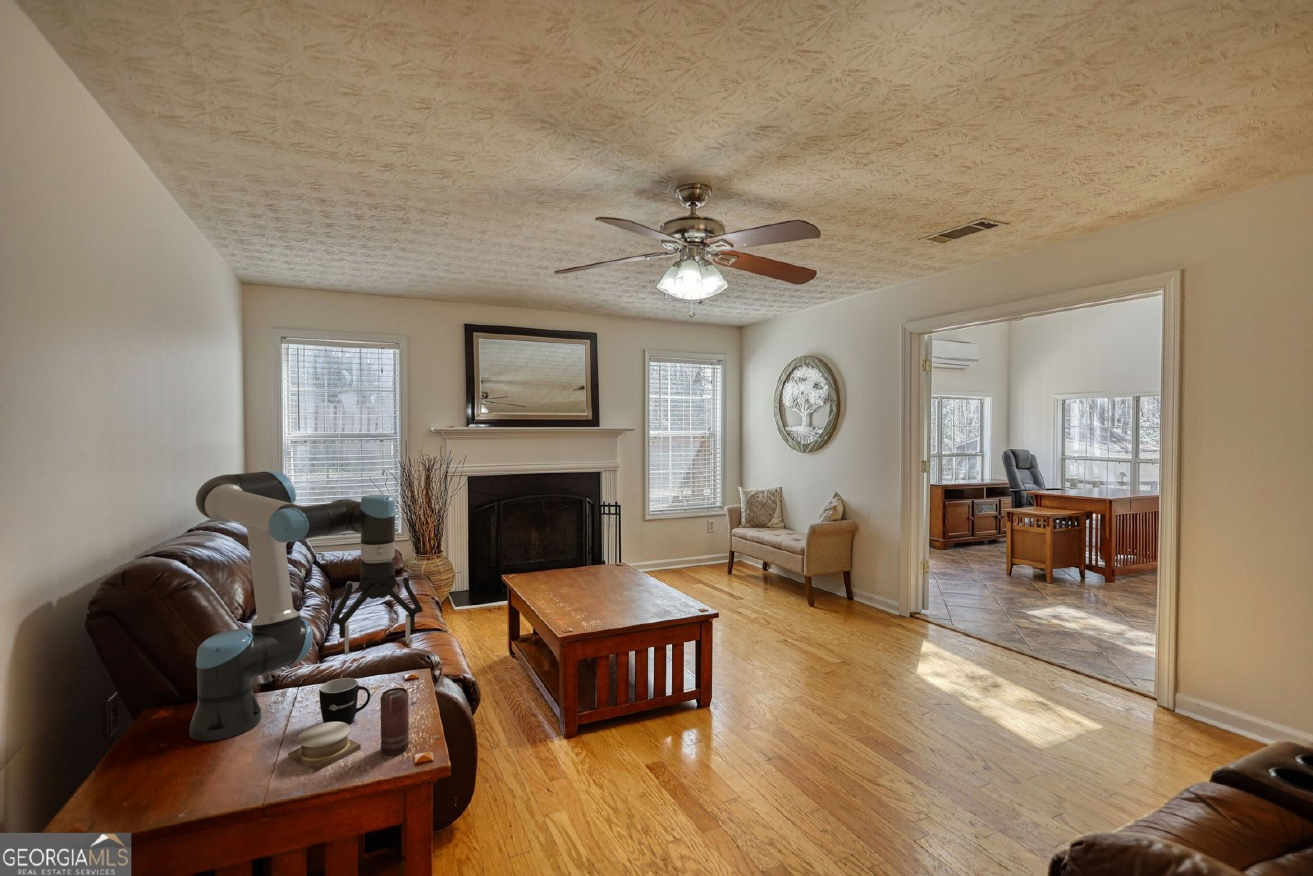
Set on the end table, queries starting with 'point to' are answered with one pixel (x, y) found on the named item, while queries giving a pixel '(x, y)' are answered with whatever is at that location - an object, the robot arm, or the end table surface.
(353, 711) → the mug
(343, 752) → the stand
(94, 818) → the end table surface
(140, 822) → the end table surface
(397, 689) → the can
